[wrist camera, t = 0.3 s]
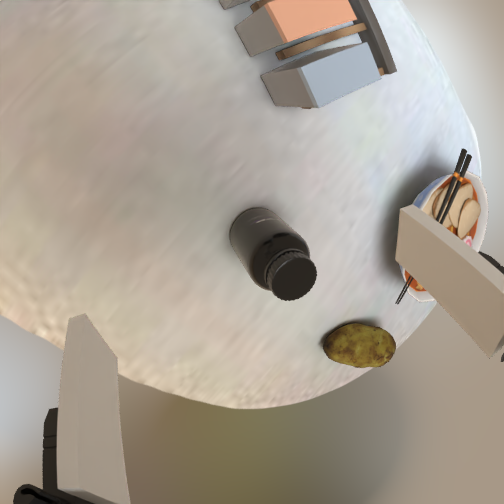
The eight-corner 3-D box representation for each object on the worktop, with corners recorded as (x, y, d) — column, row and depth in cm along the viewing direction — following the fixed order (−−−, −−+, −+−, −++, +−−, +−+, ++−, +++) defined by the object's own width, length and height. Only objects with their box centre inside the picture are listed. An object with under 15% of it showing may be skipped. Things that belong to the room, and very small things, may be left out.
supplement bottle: (263, 195, 39) (310, 231, 28) (289, 235, 42) (337, 280, 32) (217, 229, 38) (248, 278, 28) (246, 267, 42) (283, 321, 32)
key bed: (302, 108, 35) (314, 109, 33) (225, -36, 24) (232, -46, 22) (382, 71, 36) (397, 71, 33) (320, -57, 25) (332, -64, 23)
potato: (339, 307, 51) (366, 336, 44) (383, 320, 57) (408, 345, 50) (313, 346, 53) (336, 377, 46) (359, 354, 59) (381, 380, 52)
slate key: (275, 105, 34) (318, 108, 26) (260, 75, 32) (300, 67, 24) (329, 80, 34) (381, 78, 26) (316, 51, 32) (367, 42, 24)
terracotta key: (250, 56, 31) (288, 42, 22) (234, 27, 28) (267, 2, 20) (308, 33, 31) (357, 19, 23) (293, 6, 29) (339, -17, 21)
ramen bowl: (421, 295, 59) (448, 316, 52) (346, 273, 48) (378, 301, 42) (474, 185, 51) (505, 199, 44) (413, 128, 41) (454, 137, 34)
